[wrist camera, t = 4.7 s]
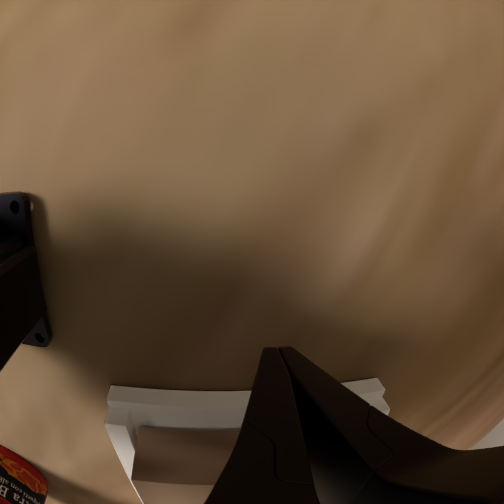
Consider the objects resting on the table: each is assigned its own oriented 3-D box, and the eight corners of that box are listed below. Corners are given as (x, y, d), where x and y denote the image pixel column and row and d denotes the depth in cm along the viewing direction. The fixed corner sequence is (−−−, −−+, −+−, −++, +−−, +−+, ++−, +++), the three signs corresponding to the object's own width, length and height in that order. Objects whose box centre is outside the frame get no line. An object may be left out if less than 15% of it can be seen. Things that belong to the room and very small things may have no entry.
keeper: (152, 467, 13) (148, 512, 10) (139, 427, 11) (130, 479, 9) (336, 458, 14) (351, 497, 11) (356, 417, 13) (378, 460, 10)
